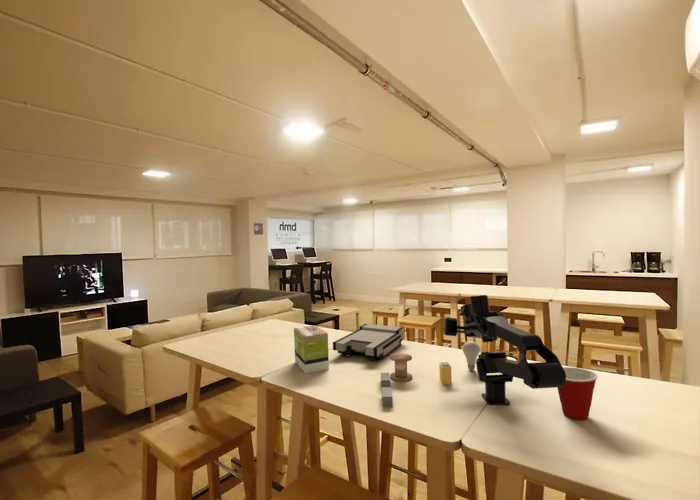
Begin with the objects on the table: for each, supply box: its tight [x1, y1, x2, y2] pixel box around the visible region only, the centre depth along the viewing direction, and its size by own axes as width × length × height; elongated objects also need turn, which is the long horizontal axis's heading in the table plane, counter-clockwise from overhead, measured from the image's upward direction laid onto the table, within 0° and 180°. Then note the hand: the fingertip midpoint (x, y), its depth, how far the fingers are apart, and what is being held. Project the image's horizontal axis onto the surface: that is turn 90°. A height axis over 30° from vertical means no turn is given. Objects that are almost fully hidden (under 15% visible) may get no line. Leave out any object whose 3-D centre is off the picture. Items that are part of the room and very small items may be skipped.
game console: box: [332, 323, 405, 361], centre depth 156 cm, size 21×32×8 cm, turn 151°
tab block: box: [438, 361, 453, 385], centre depth 119 cm, size 4×3×6 cm
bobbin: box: [389, 352, 413, 383], centre depth 124 cm, size 8×8×8 cm
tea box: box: [293, 324, 330, 374], centre depth 138 cm, size 15×10×15 cm, turn 25°
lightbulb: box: [462, 340, 481, 371], centre depth 129 cm, size 6×6×11 cm
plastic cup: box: [556, 366, 599, 421], centre depth 94 cm, size 11×11×12 cm
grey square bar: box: [380, 372, 394, 408], centre depth 111 cm, size 19×3×3 cm, turn 177°
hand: (461, 330), depth 129 cm, fingers open, 9 cm apart
